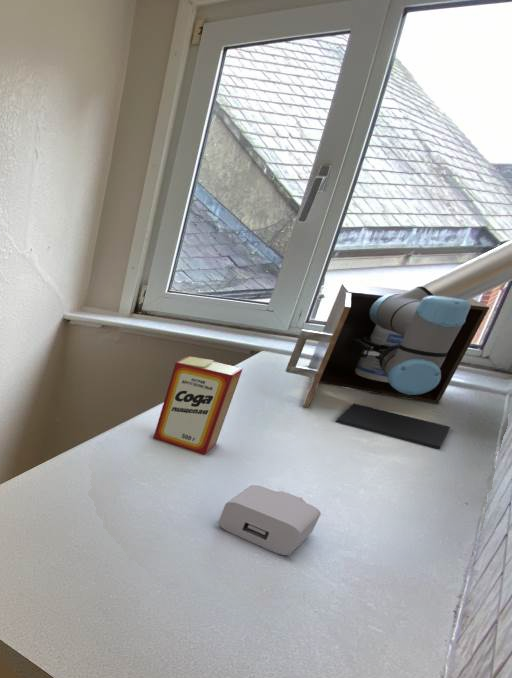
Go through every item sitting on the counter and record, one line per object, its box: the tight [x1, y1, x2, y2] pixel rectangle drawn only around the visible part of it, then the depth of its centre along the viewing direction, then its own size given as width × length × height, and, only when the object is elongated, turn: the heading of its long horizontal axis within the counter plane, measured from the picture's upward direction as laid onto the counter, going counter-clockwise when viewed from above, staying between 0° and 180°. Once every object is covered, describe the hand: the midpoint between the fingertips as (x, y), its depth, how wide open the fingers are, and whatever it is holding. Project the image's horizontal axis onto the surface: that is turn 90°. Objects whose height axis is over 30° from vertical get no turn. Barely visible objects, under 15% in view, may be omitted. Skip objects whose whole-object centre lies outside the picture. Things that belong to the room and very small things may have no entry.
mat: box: [335, 403, 451, 450], centre depth 120 cm, size 17×17×1 cm
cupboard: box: [308, 283, 491, 405], centre depth 142 cm, size 18×26×24 cm
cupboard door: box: [285, 293, 351, 408], centre depth 134 cm, size 7×26×23 cm, turn 141°
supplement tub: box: [355, 324, 404, 382], centre depth 138 cm, size 10×10×15 cm
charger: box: [218, 484, 321, 556], centre depth 80 cm, size 5×9×15 cm
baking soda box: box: [152, 355, 244, 456], centre depth 104 cm, size 10×6×16 cm
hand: (388, 343), depth 141 cm, fingers closed on supplement tub, 9 cm apart
